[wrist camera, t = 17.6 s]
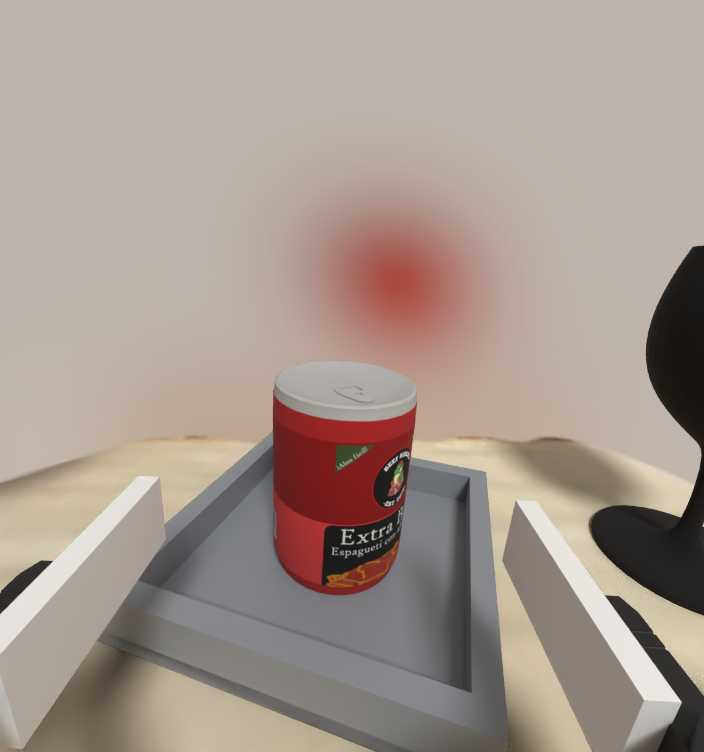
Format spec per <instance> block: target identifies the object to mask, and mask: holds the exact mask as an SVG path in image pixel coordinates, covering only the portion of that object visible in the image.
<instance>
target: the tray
mask: <svg viewBox="0 0 704 752" xmlns="http://www.w3.org/2000/svg"><path fill="white" fill-rule="evenodd" d="M165 535H166V540H165V541H164V542H163V544H162V545H161V547H160V548H159V550H158V551H157V553H156V554H155V556H154V557H153V559H152V560H151V562H150V563H149V564H148V566H147V567H146V569H145V570H144V572H143V573H142V575H141V576H140V578H139V579H138V581H137V582H136V584H135V585H134V586H133V588H132V589H131V591H130V592H129V594H128V595H127V597H126V598H125V600H124V601H123V603H122V604H121V606H120V607H119V609H118V610H117V611H116V613H115V614H114V616H113V617H112V619H111V620H110V622H109V623H108V625H107V626H106V628H105V629H104V631H103V632H102V633H101V635H100V636H99V638H98V639H97V641H99V642H102V643H104V644H107V645H110V646H112V647H115V648H117V649H120V650H122V651H125V652H127V653H130V654H132V655H135V656H137V657H140V658H142V659H145V660H147V661H150V662H152V663H155V664H157V665H160V666H162V667H165V668H167V669H170V670H172V671H175V672H177V673H180V674H183V675H185V676H188V677H190V678H193V679H195V680H198V681H200V682H203V683H205V684H208V685H210V686H213V687H215V688H218V689H220V690H223V691H225V692H228V693H230V694H233V695H235V696H238V697H240V698H243V699H245V700H248V701H250V702H253V703H256V704H258V705H261V706H263V707H266V708H268V709H271V710H273V711H276V712H278V713H281V714H283V715H286V716H288V717H291V718H293V719H296V720H298V721H301V722H303V723H306V724H308V725H311V726H313V727H316V728H318V729H321V730H324V731H326V732H329V733H331V734H334V735H336V736H339V737H341V738H344V739H346V740H349V741H351V742H354V743H356V744H359V745H361V746H364V747H366V748H369V749H371V750H374V751H376V752H507V749H508V745H509V735H508V723H507V711H506V700H505V688H504V676H503V665H502V653H501V642H500V630H499V618H498V607H497V595H496V583H495V572H494V560H493V548H492V537H491V525H490V514H489V502H488V490H487V479H486V472H483V471H478V470H473V469H468V468H463V467H457V466H452V465H447V464H442V463H437V462H432V461H427V460H422V459H417V458H412V457H411V458H410V466H409V473H408V481H407V489H406V497H405V504H404V512H403V520H402V528H401V536H400V543H399V550H398V554H397V557H396V560H395V561H394V563H393V565H392V567H391V569H390V570H389V572H388V574H387V575H386V576H385V577H384V578H383V579H382V580H381V581H380V582H379V583H378V584H376V585H375V586H373V587H371V588H370V589H368V590H365V591H362V592H359V593H355V594H349V595H330V594H325V593H319V592H316V591H314V590H311V589H308V588H306V587H304V586H303V585H301V584H299V583H298V582H296V581H295V580H294V579H293V578H292V577H291V576H289V575H288V574H287V572H286V571H285V569H284V568H283V567H282V565H281V562H280V560H279V557H278V555H277V552H276V549H275V547H274V538H273V431H272V432H271V433H270V434H269V435H268V436H267V437H266V438H264V439H263V440H262V441H261V442H260V443H258V444H257V445H256V446H255V447H254V448H253V449H252V450H250V451H249V452H248V453H247V454H246V455H245V456H243V457H242V458H241V459H240V460H239V461H238V462H236V463H235V464H234V465H233V466H232V467H231V468H229V469H228V470H227V471H226V472H225V473H224V474H223V475H221V476H220V477H219V478H218V479H217V480H216V481H214V482H213V483H212V484H211V485H210V486H209V487H207V488H206V489H205V490H204V491H203V492H202V493H200V494H199V495H198V496H197V497H196V498H195V499H194V500H192V501H191V502H190V503H189V504H188V505H187V506H185V507H184V508H183V509H182V510H181V511H180V512H178V513H177V514H176V515H175V516H174V517H173V518H172V519H170V520H169V521H168V522H167V523H166V524H165Z"/></svg>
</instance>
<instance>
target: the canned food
mask: <svg viewBox="0 0 704 752" xmlns="http://www.w3.org/2000/svg"><path fill="white" fill-rule="evenodd" d="M273 392H274V393H273V538H274V547H275V549H276V552H277V555H278V557H279V560H280V562H281V565H282V567H283V568H284V569H285V571H286V572H287V574H288V575H289V576H291V577H292V578H293V579H294V580H295V581H296V582H298V583H299V584H301V585H303V586H304V587H306V588H308V589H311V590H314V591H316V592H319V593H325V594H330V595H349V594H355V593H359V592H362V591H365V590H368V589H370V588H371V587H373V586H375V585H376V584H378V583H379V582H380V581H381V580H382V579H383V578H384V577H385V576H386V575H387V574H388V572H389V570H390V569H391V567H392V565H393V563H394V561H395V560H396V557H397V554H398V550H399V543H400V536H401V528H402V520H403V512H404V504H405V497H406V489H407V481H408V473H409V466H410V458H411V450H412V442H413V434H414V426H415V415H416V407H417V397H416V396H417V387H416V386H415V384H414V383H413V382H412V381H410V379H408V378H407V377H405V376H403V375H401V374H399V373H397V372H394V371H392V370H389V369H386V368H382V367H379V366H374V365H369V364H363V363H356V362H344V361H320V362H310V363H304V364H299V365H295V366H292V367H289V368H287V369H285V370H283V371H281V372H280V373H279V374H278V375H277V376H276V378H275V387H274V390H273Z"/></svg>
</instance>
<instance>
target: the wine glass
mask: <svg viewBox="0 0 704 752" xmlns="http://www.w3.org/2000/svg"><path fill="white" fill-rule="evenodd" d="M646 363H647V369H648V374H649V378H650V381H651V383H652V386H653V388H654V390H655V392H656V394H657V396H658V397H659V399H660V401H661V402H662V403H663V405H664V406H665V408H666V409H667V410H668V412H669V413H670V414H671V415H672V417H673V418H674V419H675V420H676V421H677V422H678V423H679V424H680V426H681V427H682V428H683V429H684V430H685V431H686V432H687V433H688V434H689V435H690V436H691V437H692V438H693V439H694V440H695V441H696V442H697V443H698V444H699V446H700V448H701V454H702V457H701V463H700V470H699V473H698V476H697V480H696V483H695V486H694V489H693V492H692V495H691V498H690V500H689V502H688V505H687V507H686V509H685V511H684V513H683V515H682V517H681V518H680V517H677V516H674V515H671V514H668V513H665V512H661V511H658V510H654V509H649V508H644V507H637V506H625V505H622V506H612V507H607V508H605V509H602V510H600V511H599V512H598V513H596V515H595V516H594V517H593V520H592V526H591V527H592V533H593V536H594V538H595V540H596V542H597V543H598V545H599V547H600V548H601V549H602V551H603V552H604V553H605V554H606V555H607V557H608V558H609V559H610V560H611V561H612V562H613V563H615V564H616V565H617V566H618V567H619V568H620V569H621V570H623V571H624V572H625V573H626V574H627V575H629V576H630V577H631V578H633V579H634V580H636V581H637V582H639V583H640V584H641V585H643V586H645V587H646V588H648V589H650V590H651V591H653V592H655V593H656V594H658V595H660V596H662V597H664V598H666V599H668V600H670V601H671V602H673V603H675V604H678V605H680V606H682V607H685V608H687V609H689V610H691V611H694V612H697V613H699V614H702V615H704V527H703V523H704V246H696V247H692V249H691V250H690V252H689V253H688V254H687V256H686V257H685V259H684V260H683V261H682V263H681V265H680V266H679V268H678V269H677V271H676V273H675V274H674V275H673V277H672V279H671V280H670V282H669V284H668V286H667V287H666V289H665V291H664V293H663V295H662V297H661V299H660V301H659V303H658V305H657V308H656V310H655V312H654V315H653V318H652V321H651V324H650V328H649V331H648V337H647V343H646Z"/></svg>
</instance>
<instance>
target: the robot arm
mask: <svg viewBox="0 0 704 752" xmlns="http://www.w3.org/2000/svg"><path fill="white" fill-rule="evenodd" d="M165 540H166V535H165V525H164V516H163V506H162V496H161V486H160V477H150V476H138V477H137V478H136V479H135V480H134V481H133V482H132V483H131V484H130V485H129V486H128V487H127V488H126V489H125V490H124V491H123V492H122V493H121V494H120V495H119V496H118V497H117V498H116V499H115V500H114V501H113V502H112V503H111V504H110V505H109V506H108V507H107V508H106V509H105V510H104V511H103V512H102V513H101V514H100V515H99V516H98V517H97V518H96V519H95V520H94V521H93V522H92V523H91V524H90V525H89V526H88V527H87V528H86V529H85V530H84V531H83V532H82V533H81V534H80V535H79V536H78V537H77V538H76V539H75V540H74V541H73V542H72V543H71V544H70V545H69V546H68V547H67V548H66V549H65V550H64V551H63V552H62V553H61V554H60V555H59V556H58V557H57V558H56V559H55V560H54V561H40V562H38V563H36V564H35V565H33V566H31V567H30V568H28V569H27V570H25V571H23V572H22V573H20V574H19V575H18V576H16V577H15V578H14V579H13V580H12V581H11V582H10V583H9V584H8V585H7V586H6V587H5V588H4V589H3V590H2V591H1V593H0V748H12V749H23V748H24V747H25V745H26V744H27V742H28V741H29V739H30V738H31V736H32V735H33V733H34V732H35V730H36V729H37V727H38V726H39V724H40V723H41V722H42V720H43V719H44V717H45V716H46V714H47V713H48V711H49V710H50V708H51V707H52V705H53V704H54V702H55V701H56V700H57V698H58V697H59V695H60V694H61V692H62V691H63V689H64V688H65V686H66V685H67V683H68V682H69V680H70V679H71V678H72V676H73V675H74V673H75V672H76V670H77V669H78V667H79V666H80V664H81V663H82V661H83V660H84V658H85V657H86V655H87V654H88V653H89V651H90V650H91V648H92V647H93V645H94V644H95V642H96V641H97V639H98V638H99V636H100V635H101V633H102V632H103V631H104V629H105V628H106V626H107V625H108V623H109V622H110V620H111V619H112V617H113V616H114V614H115V613H116V611H117V610H118V609H119V607H120V606H121V604H122V603H123V601H124V600H125V598H126V597H127V595H128V594H129V592H130V591H131V589H132V588H133V586H134V585H135V584H136V582H137V581H138V579H139V578H140V576H141V575H142V573H143V572H144V570H145V569H146V567H147V566H148V564H149V563H150V562H151V560H152V559H153V557H154V556H155V554H156V553H157V551H158V550H159V548H160V547H161V545H162V544H163V542H164V541H165ZM502 561H503V563H504V565H505V568H506V570H507V572H508V574H509V576H510V578H511V580H512V582H513V585H514V587H515V589H516V591H517V593H518V595H519V597H520V599H521V602H522V604H523V606H524V608H525V610H526V612H527V614H528V616H529V619H530V621H531V623H532V625H533V627H534V629H535V631H536V633H537V636H538V638H539V640H540V642H541V644H542V646H543V648H544V650H545V653H546V655H547V657H548V659H549V661H550V663H551V665H552V667H553V670H554V672H555V674H556V676H557V678H558V680H559V682H560V684H561V687H562V689H563V691H564V693H565V695H566V697H567V699H568V701H569V704H570V706H571V708H572V710H573V712H574V714H575V716H576V718H577V721H578V723H579V725H580V727H581V729H582V731H583V733H584V735H585V738H586V740H587V742H588V744H589V746H590V748H591V750H592V752H704V696H703V694H702V693H701V692H700V691H699V689H698V688H697V687H696V685H695V684H694V683H693V682H692V680H691V679H690V678H689V677H688V675H687V674H686V673H685V671H684V670H683V669H682V668H681V666H680V665H679V664H678V663H677V661H676V660H675V659H674V657H673V656H672V655H671V654H670V652H669V651H666V649H665V646H664V645H663V643H662V642H661V641H660V640H659V638H658V637H657V636H656V635H654V634H653V631H652V629H651V628H650V627H649V626H648V624H647V623H646V622H645V620H644V619H643V618H642V617H641V615H640V614H639V613H638V612H637V611H636V610H635V609H633V608H632V607H631V606H630V605H629V604H627V603H626V602H625V601H624V600H623V599H622V598H620V597H619V596H606V595H604V594H603V593H602V591H601V590H600V589H599V587H598V586H597V584H596V583H595V582H594V580H593V579H592V578H591V576H590V575H589V573H588V572H587V571H586V569H585V568H584V566H583V565H582V564H581V562H580V561H579V560H578V558H577V557H576V555H575V554H574V553H573V551H572V550H571V548H570V547H569V546H568V544H567V543H566V542H565V540H564V539H563V537H562V536H561V535H560V533H559V532H558V531H557V529H556V528H555V526H554V525H553V524H552V522H551V521H550V519H549V518H548V517H547V515H546V514H545V513H544V511H543V510H542V508H541V507H540V506H539V504H538V503H537V502H536V501H521V500H516V502H515V506H514V510H513V515H512V519H511V524H510V528H509V533H508V537H507V542H506V546H505V550H504V555H503V559H502Z"/></svg>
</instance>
